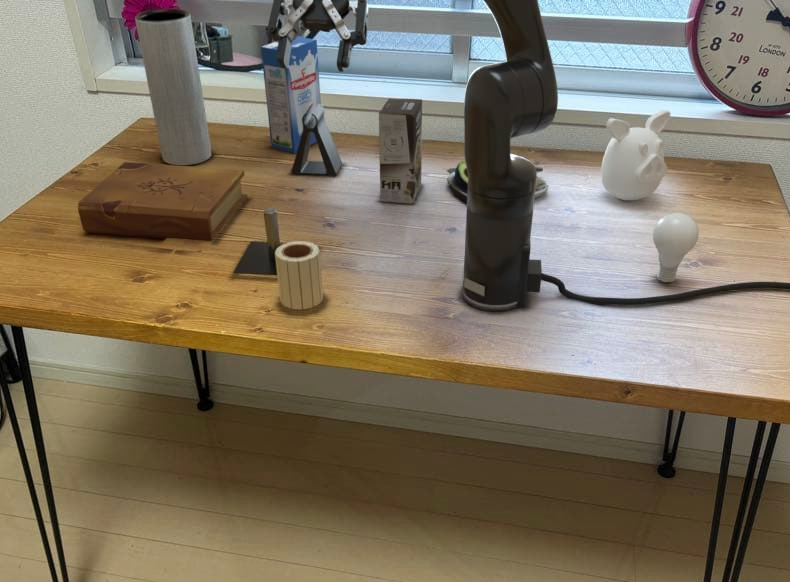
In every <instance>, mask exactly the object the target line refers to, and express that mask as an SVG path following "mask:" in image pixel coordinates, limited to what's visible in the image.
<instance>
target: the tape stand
mask: <svg viewBox="0 0 790 582" xmlns="http://www.w3.org/2000/svg"><path fill="white" fill-rule="evenodd" d="M263 219H264V227H265V236H266V241H254V240H253V241H252V240H251V241H250V242H249V244H248V246H247V247H246V249H245V251H244V253H243V254H242V256H241V258H240V260H239V261H238V263H237V265H236V267H235V269H234V270H233V272H232V274H238V275H258V276H276V277H277V268H276V259H275V251H276V249H277V248H278V247H279V246H281V245H283V244H286V243H287V242H281V237H280V229H279V220H278V212H277V208H272V207H270V208H266V209H264V210H263ZM314 244H315V245H317V244H316V243H314Z"/></svg>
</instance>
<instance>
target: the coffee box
mask: <svg viewBox="0 0 790 582" xmlns="http://www.w3.org/2000/svg"><path fill="white" fill-rule="evenodd" d="M378 137H379V138H378V143H379V145H378V146H379V147H378V148H379V149H378V151H379V201H380V202H386V203H398V204H407V205H412V204H414V203H415V200H416V197H417V196H418V194H419V191H420V189H421V187H422V170H423V169H422V167H423V166H422V163H423V162H422V157H423V156H422V155H423V154H422V153H423V152H422V146H423V145H422V142H423V99H420V98H388V99H387V100H386V102H385V103H384V105H383V106H382V108H381V109H380V111H379V112H378Z"/></svg>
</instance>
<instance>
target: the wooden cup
mask: <svg viewBox="0 0 790 582" xmlns="http://www.w3.org/2000/svg"><path fill="white" fill-rule="evenodd" d="M285 243H286V244H283V245H281V246H279V247H278V248H277V249H276V251H275V259H276V268H277V276H276V277H277V284H278V294H279V301H280V303H281V304H282V306H283V307H286V308H288V309H290V310H291V309H292V310H299V311H300V310H307V309H312V308H313V307H314V308H315V307H317V306H319V305H320V304H321V303H322V302H323V299H324V291H323V290H324V289H323V277H322V265H321V251H320V248H319V246H318V245H317V244H316V243H312V242H311V241H301V240H296V241H295V240H294V241H290V242H285ZM315 244H316V245H315Z"/></svg>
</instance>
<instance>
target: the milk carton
mask: <svg viewBox="0 0 790 582" xmlns="http://www.w3.org/2000/svg"><path fill="white" fill-rule="evenodd" d="M317 42H318V40H317V39H315V38H314V39H313V38H308V37H302V36H300V37H299V36H298V37H297V38H296V39H295V40H294V41H293V42H292V43H291V46H292V47H291V53H290V59H289V65H288V69H283V68H282V67H281V65H280V64H279V62H278V60H277V57H276V54H277V47H278V41H273V42H271V43H268V44H265V45H262V46H260V54H261V62H262V71H263V83H264V89H265V100H266V109H267V117H268V126H269V137H270V143H271V144H270V145H271V148H272V149H277V150H280V151H285V152H288V153H293V154H296V153H297V150H298V146H299V143H300V139H301V135H302V132H303V123H302V117H303V116H304V114H305V113H306V111H307V110H308V108H309V107H310V106H311V104H313V103H314V106H313V107H312V109H311V114H312V112H313V111H314V109H315V108H316V106H317V105H318V103H319V104H321V105H322V101H321V99H322V98H321V85H320V72H319V70H320V69H319V56H318V43H317ZM314 118H315V117H314ZM316 143H317V141H316V138H315V134H314V133H313V132H312V137H311V143H310V146H312V145H313V144H316Z"/></svg>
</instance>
